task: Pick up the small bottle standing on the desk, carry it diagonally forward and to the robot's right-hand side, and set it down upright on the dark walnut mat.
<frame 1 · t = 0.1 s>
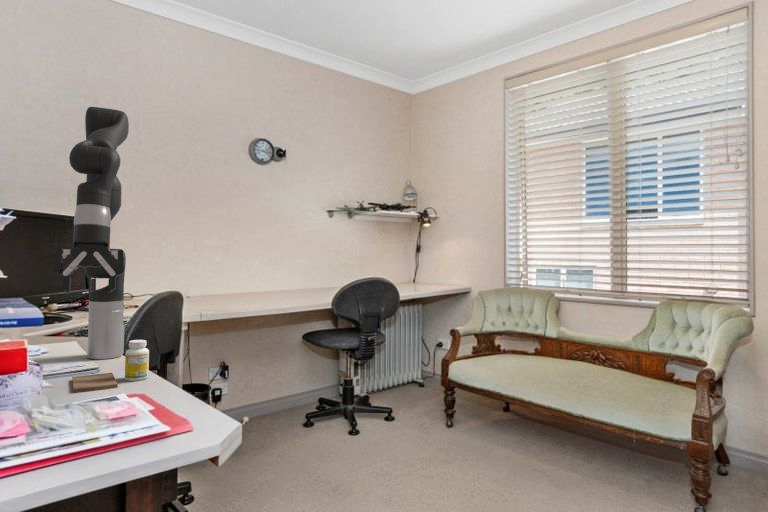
hand: (89, 292, 111), 22 cm above the table, tool pointing down, fingers open, 8 cm apart
supplement bottle: (136, 379, 119), on the table
walnut mat: (94, 383, 113), on the table
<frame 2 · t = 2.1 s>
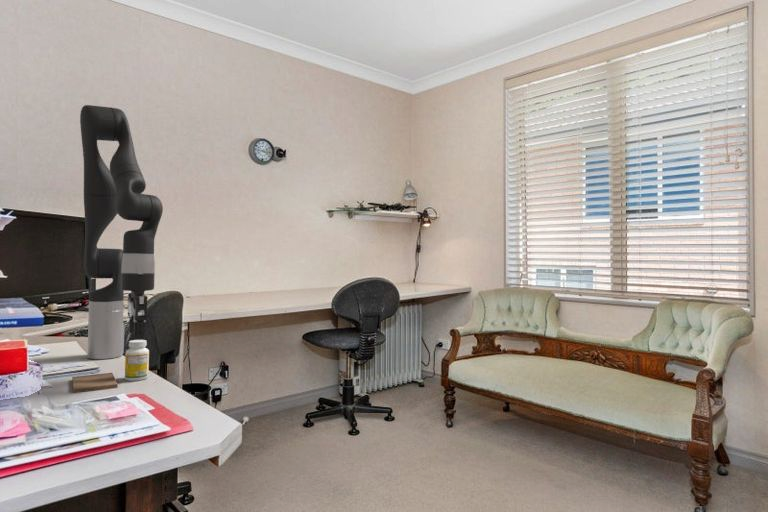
hand: (136, 335, 118), 11 cm above the table, tool pointing down, fingers open, 8 cm apart
nothing on the table moved.
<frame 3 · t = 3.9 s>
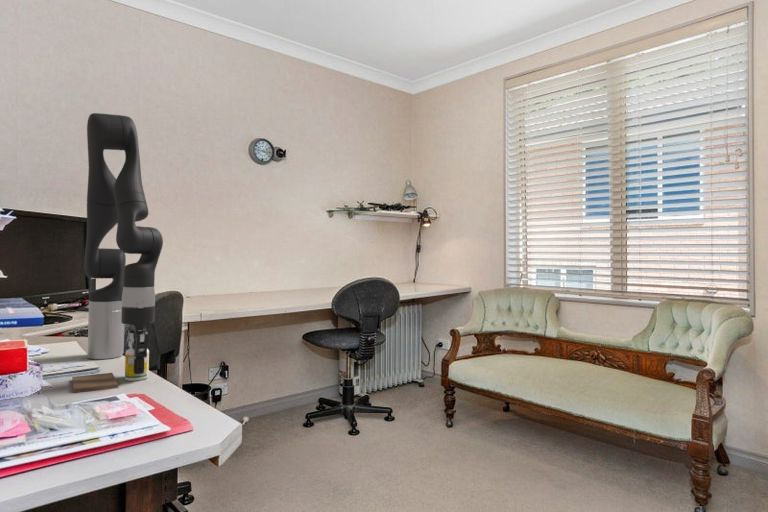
hand: (136, 370, 119), 2 cm above the table, tool pointing down, fingers closed on supplement bottle, 5 cm apart
supplement bottle: (136, 379, 119), on the table, touching gripper
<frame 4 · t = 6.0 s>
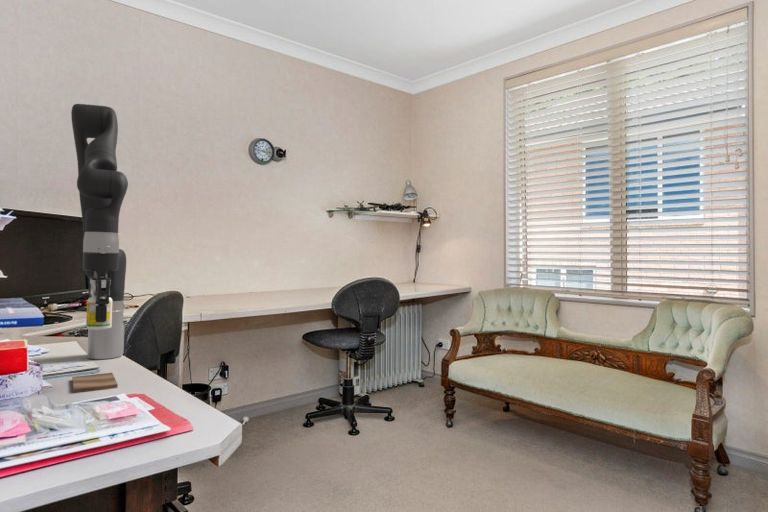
hand: (99, 320, 114), 15 cm above the table, tool pointing down, fingers closed on supplement bottle, 5 cm apart
supplement bottle: (99, 329, 114), point 13 cm above the table, touching gripper
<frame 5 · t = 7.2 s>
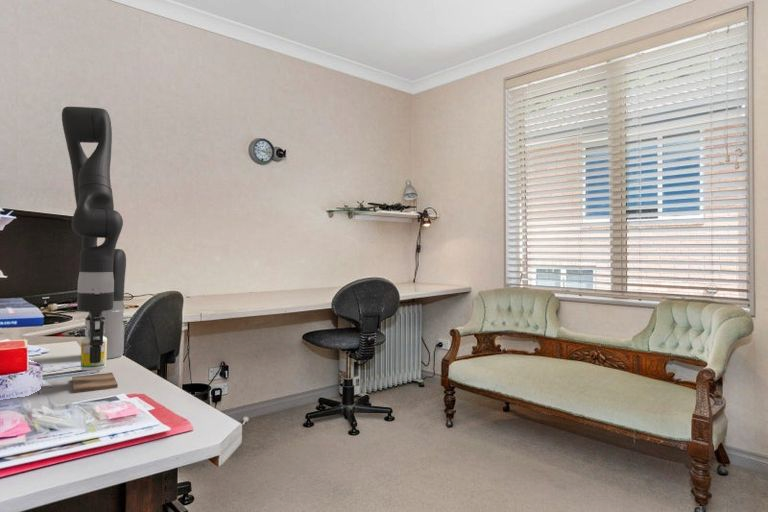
hand: (94, 360, 113), 6 cm above the table, tool pointing down, fingers closed on supplement bottle, 5 cm apart
supplement bottle: (93, 369, 113), point 4 cm above the table, touching gripper
when the fingers open (4 cm above the table, at t = 8.0 s): supplement bottle drops 1 cm, resting on walnut mat.
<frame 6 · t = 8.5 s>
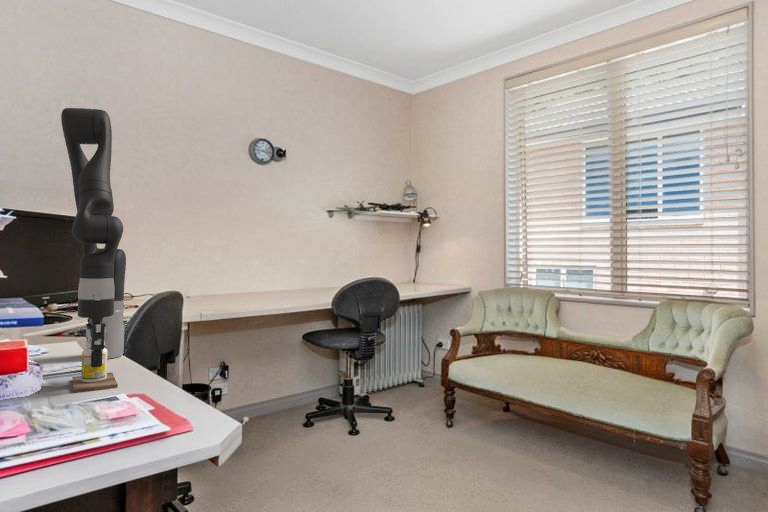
hand: (94, 363, 113), 5 cm above the table, tool pointing down, fingers open, 8 cm apart
supplement bottle: (94, 380, 113), point 1 cm above the table, touching walnut mat
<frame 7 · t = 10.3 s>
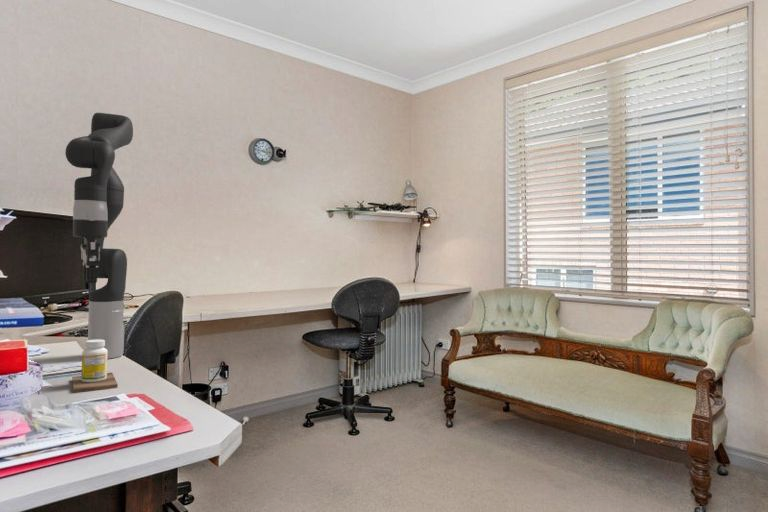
hand: (90, 281, 120), 24 cm above the table, tool pointing down, fingers open, 8 cm apart
nothing on the table moved.
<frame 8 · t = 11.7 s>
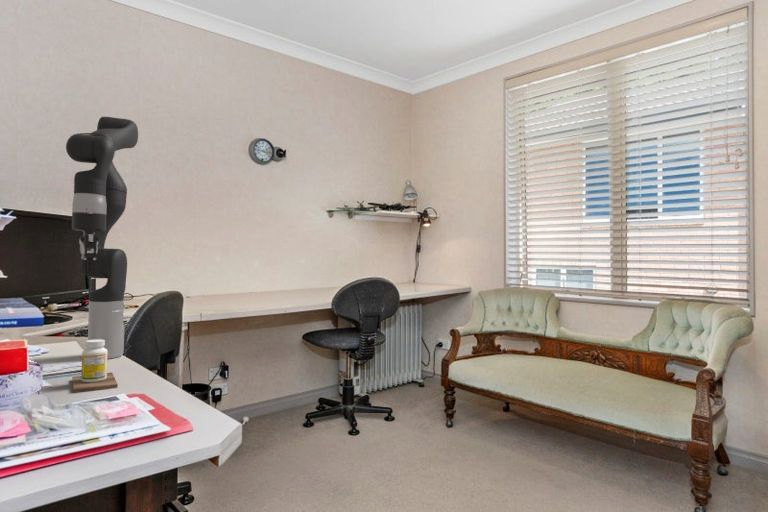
hand: (87, 274, 121), 26 cm above the table, tool pointing down, fingers open, 8 cm apart
nothing on the table moved.
at the end: supplement bottle 0.3 cm off-centre on the walnut mat, point 0.6 cm above the walnut mat's base; supplement bottle tilted 0°; the gripper is holding nothing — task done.
